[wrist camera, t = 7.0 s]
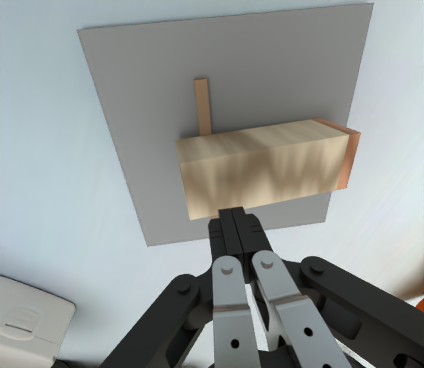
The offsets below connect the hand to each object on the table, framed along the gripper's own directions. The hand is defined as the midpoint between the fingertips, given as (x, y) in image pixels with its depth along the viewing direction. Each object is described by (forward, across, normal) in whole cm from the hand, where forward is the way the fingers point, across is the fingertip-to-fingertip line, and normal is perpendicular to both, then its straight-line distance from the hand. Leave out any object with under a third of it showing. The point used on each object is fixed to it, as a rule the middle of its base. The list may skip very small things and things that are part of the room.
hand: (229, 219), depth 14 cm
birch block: (+6, +3, 0) cm, 7 cm away
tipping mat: (+11, -2, 0) cm, 11 cm away
